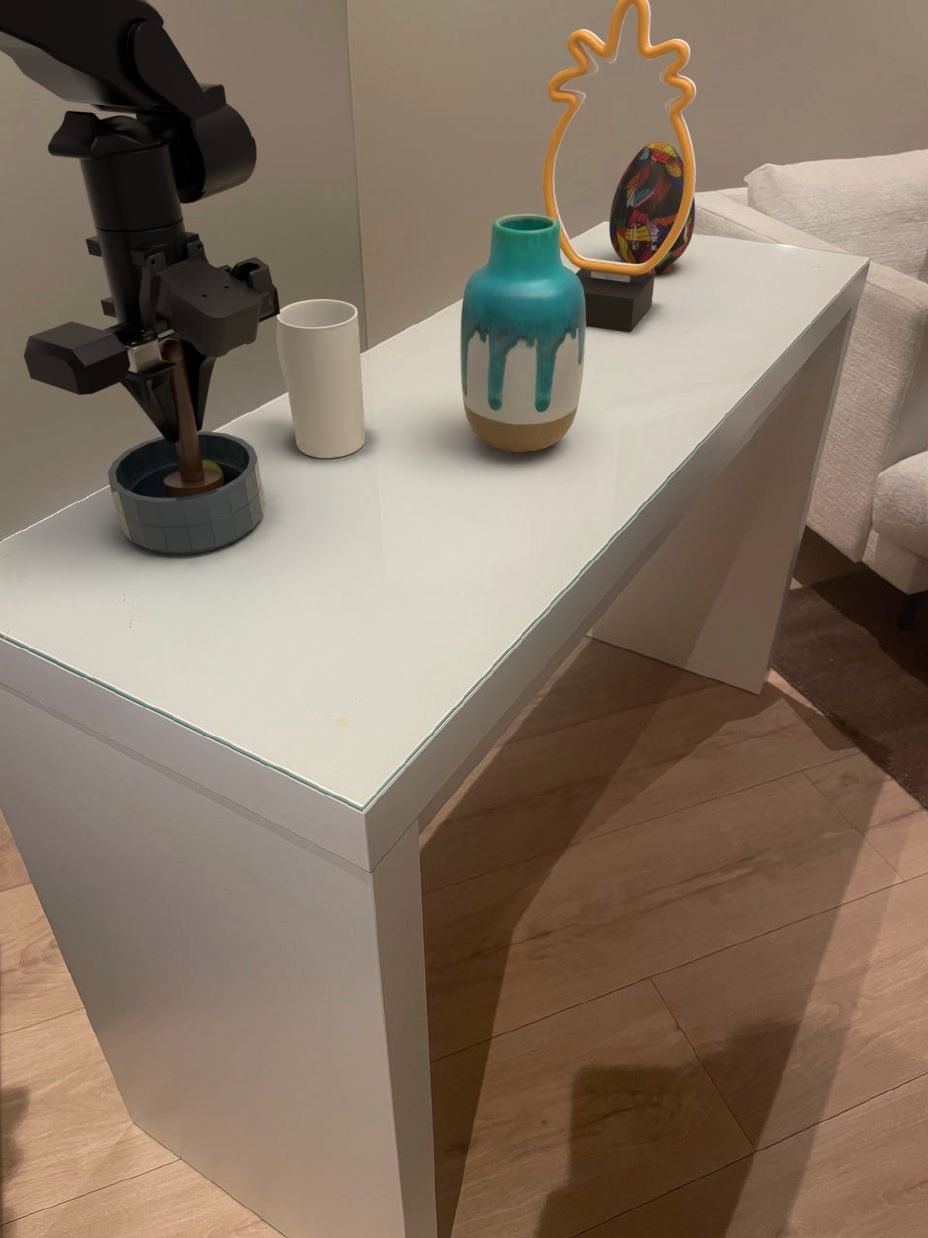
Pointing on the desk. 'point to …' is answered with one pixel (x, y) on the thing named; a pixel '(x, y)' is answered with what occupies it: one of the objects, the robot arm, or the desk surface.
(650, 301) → the lamp
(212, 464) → the olive ball
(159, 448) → the bowl
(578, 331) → the vase
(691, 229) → the egg
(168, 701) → the desk surface
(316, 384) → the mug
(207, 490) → the stirring stick
